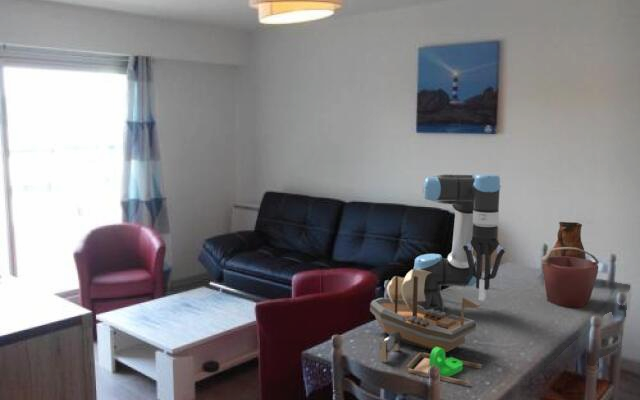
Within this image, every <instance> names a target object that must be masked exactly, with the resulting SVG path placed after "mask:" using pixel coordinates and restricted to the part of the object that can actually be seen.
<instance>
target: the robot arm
mask: <svg viewBox="0 0 640 400" xmlns="http://www.w3.org/2000/svg"><path fill="white" fill-rule="evenodd" d="M500 190H501V178H500V176H499V175H497V174H490V173H487V174H486V173H479V174H439V175H434V176H431V177H426V178H425V179H424V183H423V186H422V193H423V196H424V197H423V198H424V199H425V200H426V201H431V202H433V203H438V204H442V205H443V204H444V205H451V207H452V209H453V210H454V211H455V214H454V223H453V235H452V246H451V252H450V253H449V254H448V255H447V257H446V258H445V257H443V256H442V255H441V253H440V254H439V253H425V254H420V255H419V256H417V257H416V258H414V266H413V269H419V270H423V271H428V272H432V273H430V274H428V275H427V277H426V279H425V285H424V295H425V299H426V301H418V302H417V305H419V306H421V307H423V308H424V309H425V310H430V309H434V311H440V312H444V309H445V302H444V298H443V295H442V292H441V291H442V290H441V287H442V286H449V287H450V286H452V287H463V288H465V287H473V286H474V285H475V288H476V289H478V301H485V299H486V298H487V295H486V294H487V291H488V290H489V289H490V285H491V284H490V281H491V279H492V280H494V279H495V278H496V276H497V274H498V270H499V268H500V266H501V265H500V264H501V261H502V258H503V255H505V253H506V252H507V249H506V247H502V246H501V245H500V243H499V240H498V239H499V237H498V233H499V226H498V225H499V212H500V211H499V209H500V207H499V206H500ZM495 250H496V253H497V254H496V257H495V260H494V263H493V268H492V267H491V265H492V264H491V263H492V254H493V253H494V252H495ZM474 251H475V253H476V256H475V255H474V253H473V252H474ZM483 257H484V277H483ZM412 303H413V302H412Z"/></svg>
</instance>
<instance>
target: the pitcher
mask: <svg viewBox="0 0 640 400" xmlns="http://www.w3.org/2000/svg"><path fill="white" fill-rule="evenodd" d="M558 224H559V227H558V228H559V229H558V232H557V240H556V242H555V244H554V246H553V248H559V247H573V248H579V249H581V250H584V251H585V247H584V245H583V243H582V235H581V233H582V227H583V224H581V223H580V222H575V221H574V222H570V221H568V222H566V221H560V222H558ZM562 256H569V257H575V258H581V259H587V258H586V253H584V252H581V251H579V250H571V249H566V250H558V251H553V252H552V254H551V256H550V257H562Z"/></svg>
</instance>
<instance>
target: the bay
mask: <svg viewBox="0 0 640 400" xmlns="http://www.w3.org/2000/svg"><path fill="white" fill-rule="evenodd" d="M430 354H431V353H428V352H421V351H419V353H418V354H416V355H415V356H414V357H413V359H412V360H410V362H408V364H407V365H406V366H405V369H406V371H407V374H409V373H410V374H413V375H417V376H421V377H424V378H426V377H427V378H429V377H428V370H429V365H430ZM422 357H423V359H422V360H421V361H420V362H419V363H418V361H419V360H420V359H421V358H422ZM448 358H449V357H447V356H445V360H446V359H448ZM459 360H460V361H462V362H463V366H465V367H470V368H476V369H480V370H481V369H482V364H481V363H475V362H471V361H466V360H462V359H459ZM417 363H418V364H417ZM416 364H417V365H416ZM415 365H416V366H415ZM414 366H415V367H414ZM413 367H414V369H413ZM439 381H444V382H448V383H453V384H457V385H461V386H466V387H470V383H471V382H470V381H467V380H463V379H457V378H453V377H451V376H450V377H445V376H441V375H440V380H439Z"/></svg>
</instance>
